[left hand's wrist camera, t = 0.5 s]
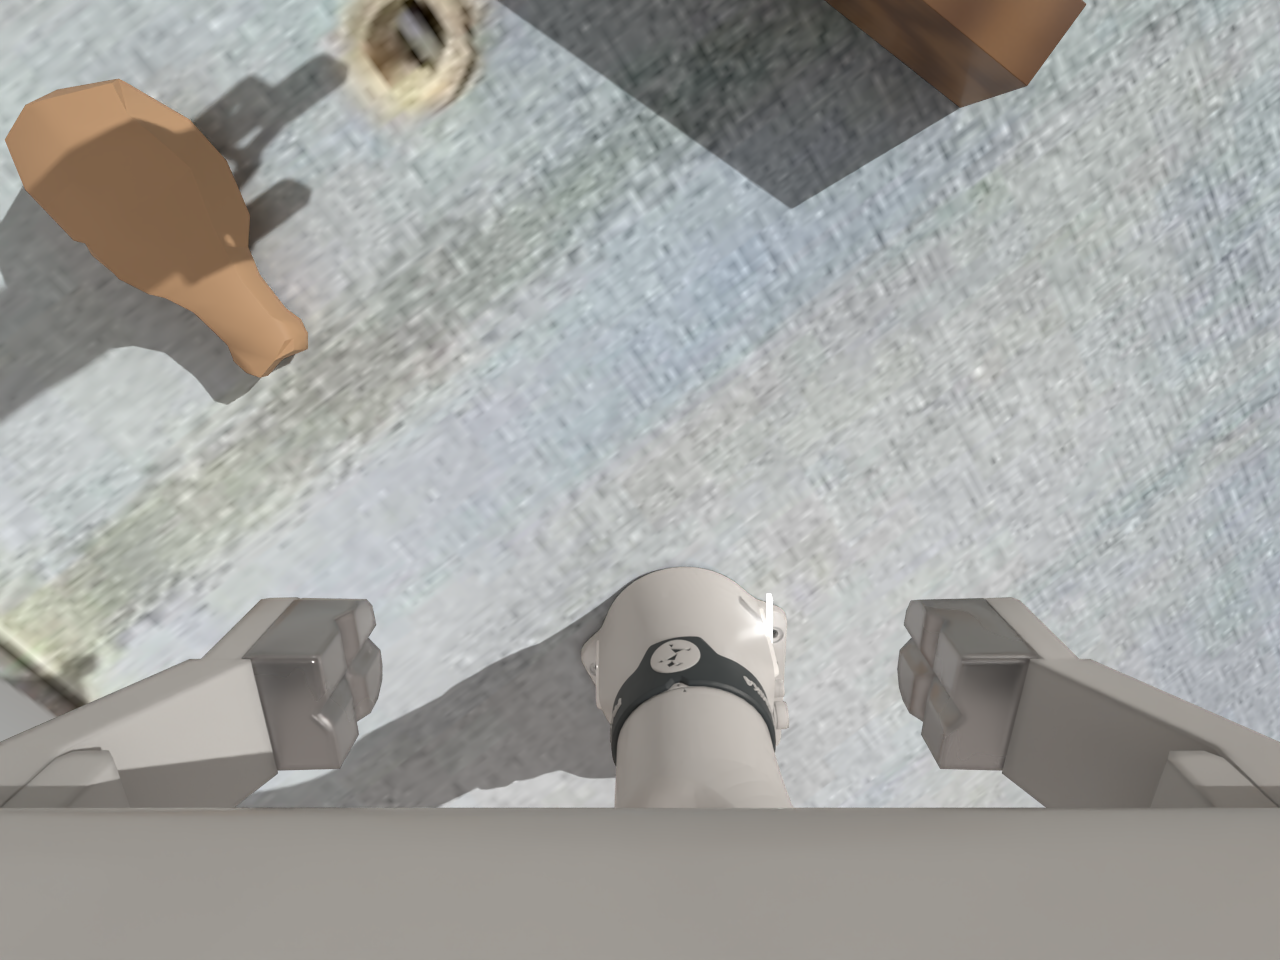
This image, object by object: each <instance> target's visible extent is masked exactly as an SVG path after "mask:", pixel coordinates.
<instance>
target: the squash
mask: <svg viewBox="0 0 1280 960" xmlns="http://www.w3.org/2000/svg"><path fill="white" fill-rule="evenodd" d="M5 141H6V144H7V146H8V149H9V151H10V154H11V156H12V159H13V161H14V163H15V166H16V168H17V171H18V173H19V176H20V178H21V181H22V183H23V185H24V188H25V190H26V191H27V192H28V193H29V194H30V195H31V196H32V197H33V198H34V199H35V201H36V202H37V203H38V204H39V205H40V206H41V207H42V208H43V209H44V210H45V211H46V212H47V213H48V214H49V215H50V216H51V217H52V218H53V219H54V220H55V221H56V222H57V224H58V225H59V226H60V227H61V228H62V229H63V230H64V231H65V232H66V233H67V234H68V235H69V236H70V237H71V238H72V239H73V240H74V241H78V242H82V243H85V244H86V246H87V247H88V249H89V251H90V253H91V255H92V256H93V257H95V258H96V259H97V260H98V261H99V262H101V263H102V264H103V265H104V266H105V267H107V268H108V269H109V270H110V271H111V272H113V273H114V274H115V275H116V276H117V277H118V279H120V280H122V281H124V282H126V283H128V284H130V285H132V286H134V287H136V288H138V289H140V290H142V291H143V292H145V293H147V294H150V295H155V296H159V297H163V298H166V299H168V300H170V301H172V302H174V303H176V304H178V305H180V306H182V307H184V308H186V309H188V310H190V311H192V312H193V313H194V314H195V315H196V316H198V317H199V318H200V319H201V320H202V321H203V322H204V323H205V324H206V325H207V326H208V327H209V328H210V329H211V330H212V331H213V332H214V333H215V334H217V335H218V336H219V337H220V338H221V339H222V340H223V341H224V342H225V343H226V344H227V345H228V347H229V350H230V352H231V355H232V357H233V361H234V362H235V363H236V364H237V365H238V366H239V367H241V368H242V369H243V370H244V371H245V372H246V373H248V374H251V375H254V376H257V377H264V376H268V375H269V374H270V373H271V372H272V371H273V370H274V368H275V367H276V366H277V365H278V364H279V363H280V362H281V361H282V360H283V359H284V358H287V357H289V356H291V355H294V354H296V353H299V352H301V351H304V350H306V349H308V332H307V331H306V329H305V327H304V325H303V323H302V321H301V319H300V318H298V317H297V316H296V315H294V314H293V313H292V312H290V311H289V310H288V309H286V308H285V307H284V305H283V304H282V303H281V301H280V300H279V299H278V298H277V296H276V295H275V294H274V292H273V291H272V290H271V289H270V287H269V286H268V285H267V283H266V282H265V281H264V280H263V278H262V277H261V276H260V274H259V272H258V269H257V267H256V265H255V262H254V260H253V257H252V255H251V252H250V250H249V248H248V243H249V224H250V214H249V212H248V209H247V207H246V205H245V202H244V200H243V198H242V195H241V193H240V191H239V189H238V186H237V184H236V182H235V179H234V177H233V175H232V172H231V170H230V168H229V165H228V163H227V161H226V160H225V159H224V157H223V156H222V155H221V154H220V153H219V152H218V151H217V150H216V148H215V147H214V146H213V145H212V144H211V143H210V142H209V141H208V140H207V138H206V137H205V136H204V135H203V134H202V133H201V132H200V131H199V129H198V128H197V127H196V126H195V125H194V124H193V123H192V122H191V121H190V120H189V119H188V118H186V117H184V116H183V115H181V114H179V113H177V112H176V111H174V110H172V109H171V108H169V107H167V106H166V105H164V104H162V103H160V102H159V101H157V100H155V99H154V98H152V97H150V96H148V95H147V94H145V93H143V92H142V91H140V90H138V89H136V88H135V87H133V86H131V85H130V84H128V83H126V82H124V81H122V80H120V79H114V80H108V81H103V82H97V83H92V84H86V85H81V86H75V87H70V88H64V89H58V90H55V91H53V92H51V93H49V94H47V95H45V96H43V97H41V98H39V99H37V100H35V101H33V102H31V103H29V104H26V105H25V107H24V108H23V110H22V112H21V113H20V115H19V117H18V118H17V120H16V122H15V123H14V125H13V127H12V128H11V130H10V132H9V134H8V135H7V137H6V139H5Z"/></svg>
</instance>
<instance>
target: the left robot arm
mask: <svg viewBox="0 0 1280 960" xmlns="http://www.w3.org/2000/svg"><path fill="white" fill-rule="evenodd" d="M772 600H773V599H772V596H771V593H768V594H767V602H765V601H761V600H758V599H756V598H754V597H753V596H751V595H750V594H749V593H748V592H746V591H745V590H744V589H743V588H742V587H741V586H740V585H738V584H737V583H736V582H734V581H733V580H731V579H729V578H728V577H726V576H724V575H722V574H719V573H717V572H714V571H711V570H707V569H703V568H697V567H673V568H667V569H662V570H658V571H655V572H652V573H650V574H647V575H645V576H643V577H641V578H639V579H638V580H636V581H634V582H633V583H632V584H630V585H629V586H628V587H626V588H625V589H624V590H623V591H622V592H621V593H620V594H619V595H618V597H617V598H616V599H615V601H614V602H613V603H612V605H611V607H610V609H609V611H608V613H607V615H606V618H605V620H604V623H603V625H602V627H601V628H600V630H599V631H598V632H597V633H595V634H594V635H593V636H592V637H591V638H590V639H589V640H588V641H587V642H586V643H585V644H584V646H583V647H582V649H581V660H582V663H583V665H584V667H585V668H586V670H587V672H588V674H589V675H590V677H591V679H592V681H593V682H594V684H595V686H596V704H597V707H598V708H599V709H602V711H603V713H604V715H605V717H606V718H607V720H608V721H609V723H610V742H611V748H612V757H613V760H614V763H615V766H616V783H615V806H614V808H234V807H236V806H237V805H238V804H239V803H241V802H242V801H243V800H245V799H246V798H247V797H248V796H250V795H251V794H252V793H254V792H255V791H256V790H257V789H259V788H260V787H261V786H263V785H264V784H265V783H266V782H268V781H269V780H270V779H272V778H273V777H274V776H275V775H277V774H278V771H277V770H312V769H340V768H341V766H342V764H343V762H344V760H345V759H346V757H347V755H348V753H349V751H350V750H351V748H352V746H353V744H354V742H355V741H356V739H357V737H358V735H359V732H358V726H357V721H359V720H360V719H362V718H363V717H365V716H367V715H368V714H370V713H371V711H372V709H373V707H374V705H375V703H376V701H377V700H378V696H379V692H380V687H381V683H382V658H381V651H380V649H379V648H378V647H377V646H376V645H375V644H374V643H373V642H372V641H371V640H370V639H369V638H368V637H369V635H370V634H371V632H372V631H373V629H374V628H375V626H376V621H375V616H374V611H373V606H372V605H371V604H370V603H369V601H368V600H367V599H331V598H301V599H300V598H298V597H291V598H267V599H261V600H260V601H259V602H258V603H257V604H256V605H255V606H254V607H253V608H252V609H251V610H250V611H249V612H248V613H247V614H246V615H245V616H244V617H243V618H242V619H241V620H240V621H239V622H238V623H237V624H236V625H235V626H234V627H233V628H232V629H231V630H230V631H229V632H228V633H227V634H226V635H225V636H224V637H223V638H222V639H221V640H220V641H219V642H218V643H217V644H216V645H215V646H214V647H213V648H212V649H211V650H210V651H208V652H207V653H206V654H205V655H204V656H203V657H202V658H201V659H189V660H187V661H184V662H182V663H180V664H177V665H175V666H173V667H170V668H168V669H166V670H164V671H161V672H159V673H157V674H154V675H152V676H150V677H148V678H145V679H143V680H141V681H138V682H136V683H134V684H132V685H129V686H127V687H125V688H122V689H120V690H118V691H116V692H113V693H111V694H109V695H106V696H104V697H102V698H100V699H97V700H95V701H93V702H90V703H88V704H86V705H84V706H81V707H79V708H77V709H74V710H72V711H70V712H68V713H65V714H63V715H61V716H58V717H56V718H54V719H51V720H49V721H47V722H45V723H42V724H40V725H38V726H35V727H33V728H31V729H29V730H26V731H24V732H22V733H20V734H17V735H15V736H13V737H10V738H8V739H6V740H3V741H1V742H0V960H1280V742H1278V741H1276V740H1274V739H1272V738H1269V737H1267V736H1265V735H1262V734H1260V733H1258V732H1256V731H1253V730H1251V729H1249V728H1246V727H1244V726H1242V725H1240V724H1237V723H1235V722H1233V721H1230V720H1228V719H1226V718H1224V717H1221V716H1219V715H1217V714H1214V713H1212V712H1210V711H1208V710H1205V709H1203V708H1201V707H1198V706H1196V705H1194V704H1192V703H1189V702H1187V701H1185V700H1183V699H1180V698H1178V697H1176V696H1173V695H1171V694H1169V693H1167V692H1164V691H1162V690H1160V689H1157V688H1155V687H1153V686H1151V685H1148V684H1146V683H1144V682H1141V681H1139V680H1137V679H1135V678H1132V677H1130V676H1128V675H1125V674H1123V673H1121V672H1119V671H1116V670H1114V669H1112V668H1109V667H1107V666H1105V665H1103V664H1100V663H1098V662H1096V661H1093V660H1091V659H1079V658H1078V657H1077V656H1076V655H1075V654H1074V653H1073V652H1072V651H1071V650H1070V649H1069V648H1068V647H1067V646H1066V645H1065V644H1064V643H1063V642H1062V641H1060V640H1059V639H1058V638H1057V637H1056V636H1055V635H1054V634H1053V633H1052V632H1051V631H1050V630H1049V629H1048V628H1047V627H1046V626H1045V625H1044V624H1043V623H1042V622H1041V621H1040V620H1039V619H1038V618H1037V617H1036V616H1035V615H1034V614H1033V613H1032V612H1031V611H1030V610H1029V609H1028V608H1027V607H1026V606H1025V605H1024V604H1023V603H1022V602H1021V601H1020V600H1018V599H1015V598H1012V597H1003V598H972V599H931V600H911V601H910V603H909V606H908V608H907V610H906V615H905V621H904V626H905V627H906V629H907V631H908V632H909V634H910V635H911V637H912V638H911V639H910V640H909V641H908V642H907V643H906V644H905V645H904V646H903V647H902V648H901V649H900V652H899V660H898V668H897V671H898V682H899V689H900V692H901V696H902V699H903V702H904V704H905V705H906V707H907V709H908V711H909V713H910V714H912V715H913V716H915V717H917V718H918V719H920V720H921V721H923V726H922V732H921V735H922V737H923V739H924V741H925V742H926V744H927V746H928V748H929V750H930V751H931V753H932V755H933V757H934V759H935V760H936V762H937V764H938V766H939V768H940V769H966V770H1003V771H1002V774H1004V775H1005V776H1006V777H1007V778H1009V779H1010V780H1011V781H1013V782H1014V783H1015V784H1016V785H1018V786H1019V787H1020V788H1022V789H1023V790H1024V791H1025V792H1027V793H1028V794H1029V795H1031V796H1032V797H1033V798H1034V799H1036V800H1037V801H1038V802H1040V803H1041V804H1042V805H1043V806H1045V807H1046V808H793V805H792V803H791V800H790V798H789V795H788V792H787V790H786V787H785V784H784V781H783V778H782V775H781V772H780V769H779V766H778V763H777V759H776V756H775V748H776V746H777V745H778V744H779V743H780V739H781V729H787V728H789V714H788V708H787V704H786V702H784V701H783V697H784V695H785V690H784V672H785V654H786V636H787V619H786V614H785V612H784V611H783V610H782V609H781V608H780V607H778V606H776V605H773V604H772ZM772 630H776V632H774V633H772Z"/></svg>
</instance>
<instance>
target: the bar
mask: <svg viewBox="0 0 1280 960" xmlns="http://www.w3.org/2000/svg"><path fill="white" fill-rule="evenodd" d="M825 1H826V2H827V3H829V4H830V5H831V6H832V7H834V8H835V9H836V10H837V11H839V12H840V13H841V14H842V15H844V16H845V17H846V18H848V19H849V20H850V21H851V22H853V23H854V24H855V25H856V26H858V27H859V28H860V29H861V30H863V31H864V32H865V33H866V34H868V35H869V36H870V37H871V38H873V39H874V40H875V41H877V42H878V43H879V44H880V45H882V46H883V47H884V48H885V49H887V50H888V51H889V52H890V53H892V54H893V55H894V56H895V57H897V58H898V59H899V60H901V61H902V62H903V63H904V64H906V65H907V66H908V67H909V68H911V69H912V70H913V71H914V72H916V73H917V74H918V75H919V76H921V77H922V78H923V79H925V80H926V81H927V82H928V83H930V84H931V85H932V86H933V87H935V88H936V89H937V90H938V91H940V92H941V93H942V94H943V95H945V96H946V97H947V98H949V99H950V100H951V101H952V102H954V103H955V104H956V105H957V106H959V107H960V108H961V107H964V106H967V105H970V104H973V103H976V102H980V101H983V100H986V99H989V98H992V97H995V96H998V95H1001V94H1004V93H1007V92H1010V91H1013V90H1016V89H1019V88H1022V87H1025V86H1027V85H1028V84H1029V83H1030V81H1031V80H1032V78H1033V77H1034V76H1035V74H1036V73H1037V72H1038V70H1039V69H1040V67H1041V66H1042V65H1043V63H1044V62H1045V61H1046V59H1047V58H1048V56H1049V55H1050V54H1051V52H1052V51H1053V50H1054V48H1055V47H1056V45H1057V44H1058V43H1059V41H1060V40H1061V39H1062V37H1063V36H1064V35H1065V33H1066V32H1067V30H1068V29H1069V28H1070V26H1071V25H1072V24H1073V22H1074V21H1075V19H1076V18H1077V17H1078V15H1079V14H1080V13H1081V11H1082V10H1083V8H1084V7H1085V6H1086V3H1085V2H1083V1H1082V0H825Z"/></svg>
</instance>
